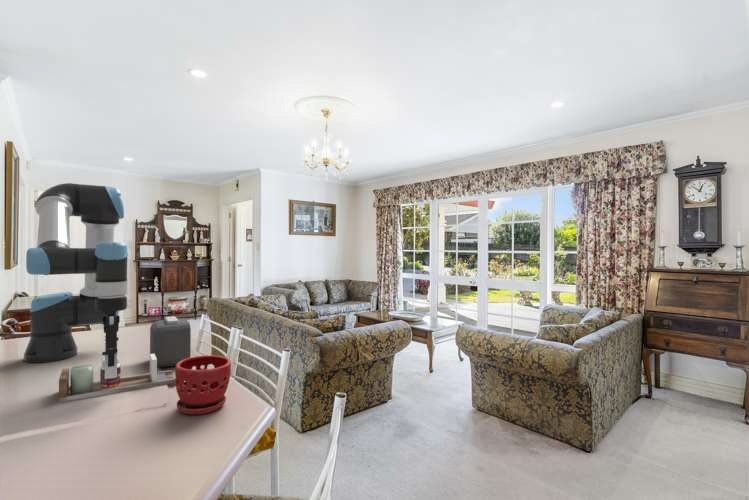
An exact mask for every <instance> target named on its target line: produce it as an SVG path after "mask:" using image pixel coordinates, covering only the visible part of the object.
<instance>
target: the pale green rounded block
mask: <svg viewBox="0 0 749 500" xmlns="http://www.w3.org/2000/svg"><path fill="white" fill-rule="evenodd" d="M93 382H94V365H93V364H80V365H75V366H73V367H70V368H69V386H70V395H77V394H83V393H89V392H93Z"/></svg>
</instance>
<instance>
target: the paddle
mask: <svg viewBox="0 0 749 500" xmlns="http://www.w3.org/2000/svg"><path fill="white" fill-rule="evenodd" d="M157 372H158V366H157V358H156V356H155V354H150V353H149V373H150V379H151V382H154V381H160V380H166V379H167V377H166V375H165V373H161V374H157Z"/></svg>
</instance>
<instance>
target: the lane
mask: <svg viewBox="0 0 749 500" xmlns="http://www.w3.org/2000/svg"><path fill="white" fill-rule="evenodd" d="M172 372H173V370H172V369H170V370H169V369H168V370H162V371H157V374H161V373H165V375H166V377H167V379H166V380H160V381H154V382H151V379H150V372H148V373H144V374H137V375H129V376H124V377H120V387H119V388H113V389H107V390H101V389H100V380H98V381H93V392H89V393H83V394H77V395H70V368H69V367H68V368H62V370H61V372H60V376H59V378H58V403H59V404H60V403H65V402H71V401H77V400H83V399H88V398H89V399H90V398H94V397H101V396H105V395H111V394H116V393H118V394H119V393H124V392H129V391H136V390H142V389H146V388H152V387H153V388H154V387H156V386H157V387H158V386H163V385H166V387H167V388H170V387H176V382H175V377H174V376H173V373H172Z"/></svg>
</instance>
